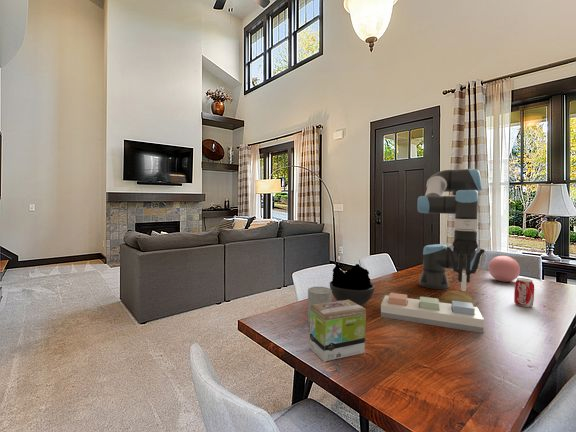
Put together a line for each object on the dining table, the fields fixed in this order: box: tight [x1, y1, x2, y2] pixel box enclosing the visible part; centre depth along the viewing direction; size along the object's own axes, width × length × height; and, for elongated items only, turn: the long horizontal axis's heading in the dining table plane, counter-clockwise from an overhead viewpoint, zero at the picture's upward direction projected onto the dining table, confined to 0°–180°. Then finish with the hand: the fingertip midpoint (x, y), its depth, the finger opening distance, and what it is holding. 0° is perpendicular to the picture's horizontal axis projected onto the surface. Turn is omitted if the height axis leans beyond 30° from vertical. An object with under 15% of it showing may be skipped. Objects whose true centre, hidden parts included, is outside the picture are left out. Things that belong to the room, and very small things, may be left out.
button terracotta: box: [388, 292, 408, 306], centre depth 128 cm, size 7×7×3 cm
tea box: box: [309, 300, 367, 363], centre depth 96 cm, size 15×10×15 cm
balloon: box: [487, 255, 521, 283], centre depth 181 cm, size 15×20×15 cm
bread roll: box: [439, 289, 478, 307], centre depth 134 cm, size 10×15×8 cm, turn 42°
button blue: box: [452, 301, 475, 315], centre depth 118 cm, size 7×7×3 cm
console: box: [380, 294, 485, 334], centre depth 123 cm, size 14×36×5 cm, turn 65°
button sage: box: [419, 296, 440, 310], centre depth 123 cm, size 7×7×3 cm
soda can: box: [513, 277, 535, 308], centre depth 138 cm, size 7×7×12 cm
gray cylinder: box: [307, 286, 333, 323], centre depth 120 cm, size 10×10×12 cm
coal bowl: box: [329, 263, 376, 306], centre depth 137 cm, size 20×20×19 cm
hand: (463, 290), depth 117 cm, fingers closed
